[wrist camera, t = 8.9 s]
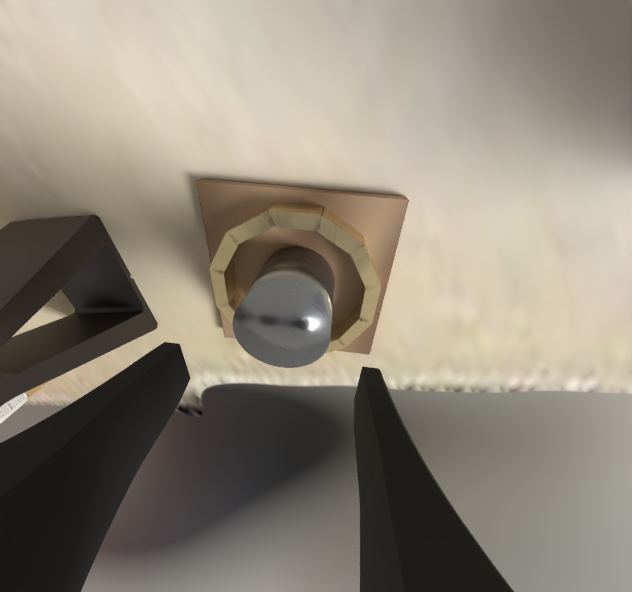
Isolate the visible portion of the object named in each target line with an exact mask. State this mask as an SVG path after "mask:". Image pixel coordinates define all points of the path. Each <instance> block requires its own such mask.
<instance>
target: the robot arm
mask: <svg viewBox="0 0 632 592" xmlns="http://www.w3.org/2000/svg"><path fill="white" fill-rule="evenodd" d="M189 380H190V375H189V372H188V369H187V366H186V363H185V360H184V357H183V353H182V350H181V347H180V344H175V343H167V342H164V343H163V344H161V345H160V346H158V347H157V348H155V349H154V350H152V351H151V352H149V353H148V354H146V355H145V356H143V357H142V358H140V359H139V360H137V361H136V362H134V363H133V364H132V365H130V366H129V367H127V368H126V369H124V370H123V371H121V372H120V373H118V374H117V375H115V376H114V377H112V378H111V379H109V380H108V381H106V382H105V383H103V384H102V385H100V386H99V387H97V388H95V389H94V390H92V391H91V392H89V393H87V394H86V395H84V396H83V397H81V398H80V399H78V400H76V401H75V402H73V403H72V404H70V405H68V406H67V407H65V408H63V409H62V410H60V411H58V412H57V413H55V414H53V415H51V416H50V417H48V418H46V419H45V420H43V421H41V422H39V423H37V424H36V425H34V426H32V427H30V428H29V429H26V430H25V431H23V432H21V433H19V434H17V435H15V436H14V437H12V438H10V439H8V440H6V441H4V442H2V443H0V592H81V590H82V587H83V585H84V583H85V580H86V578H87V575H88V573H89V571H90V569H91V566H92V564H93V562H94V560H95V558H96V555H97V553H98V551H99V549H100V546H101V544H102V542H103V539H104V537H105V535H106V533H107V531H108V529H109V527H110V525H111V523H112V521H113V519H114V516H115V514H116V512H117V510H118V508H119V506H120V504H121V502H122V500H123V498H124V496H125V494H126V492H127V490H128V488H129V486H130V484H131V482H132V480H133V478H134V477H135V474H136V473H137V471H138V469H139V468H140V466H141V464H142V462H143V461H144V459H145V457H146V456H147V454H148V452H149V451H150V449H151V448H152V446H153V444H154V443H155V441H156V440H157V438H158V436H159V435H160V433H161V432H162V430H163V428H164V427H165V425H166V423H167V422H168V420H169V419H170V417H171V415H172V414H173V412H174V410H175V409H176V407H177V405H178V404H179V402H180V400H181V398H182V396H183V393H184V391H185V389H186V387H187V385H188V382H189ZM354 434H355V447H356V459H357V471H358V483H359V495H360V496H359V497H360V592H514V591H513V590H512V589H511V587H510V586H509V584H508V583H507V582H506V581H505V579H504V578H503V577H502V575H501V574H500V573H499V571H498V570H497V569H496V567H495V566H494V565H493V563H492V562H491V560H490V559H489V558H488V556H487V555H486V554H485V552H484V551H483V549H482V548H481V547H480V545H479V544H478V542H477V541H476V540H475V538H474V537H473V535H472V534H471V533H470V531H469V530H468V528H467V527H466V526H465V524H464V523H463V521H462V520H461V519H460V517H459V516H458V514H457V513H456V511H455V510H454V508H453V507H452V505H451V504H450V502H449V501H448V499H447V498H446V496H445V494H444V493H443V491H442V490H441V488H440V487H439V485H438V483H437V482H436V480H435V479H434V477H433V475H432V474H431V472H430V470H429V469H428V467H427V465H426V464H425V462H424V460H423V458H422V457H421V455H420V453H419V452H418V450H417V448H416V446H415V445H414V442H413V441H412V439H411V437H410V435H409V433H408V431H407V429H406V427H405V425H404V423H403V421H402V419H401V417H400V415H399V413H398V411H397V409H396V407H395V405H394V402H393V400H392V398H391V396H390V393H389V391H388V389H387V386H386V384H385V381H384V379H383V376H382V373H381V371H380V370H379V369H377V368H368V367H362V370H361V374H360V379H359V383H358V387H357V391H356V395H355V399H354Z"/></svg>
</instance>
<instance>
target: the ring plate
mask: <svg viewBox="0 0 632 592" xmlns="http://www.w3.org/2000/svg"><path fill="white" fill-rule="evenodd" d="M196 182H197V187H198V193H199V199H200V204H201V210H202V215H203V221H204V226H205V232H206V237H207V243H208V248H209V254H210V260H211V265H210V267H209V268H210V269H209V270H210V275H211V281H212V286H213V291H214V297H215V302H216V305H217V307H218V308H219V310H220V315H221V320H222V326H223V332H224V337H228V338H236V337H235V334H234V331H233V317H234V314H235V312H236V310H237V308H238V306H239V305H240V303H241V302H242V300H243V298H244V297H245V295H246V293H247V292H248V290H249V288H250V287H251V285H252V283H253V282H254V280H255V278H256V277H257V275H258V274H259V272H260V270H261V269H262V267H263V265H264V264H265V262H266V260H267V259H268V258H269V257H270V256H271V255H272V254H273V253H274V252H276V251H277V250H279V249H282V248H285V247H290V246H300V247H305V248H309V249H311V250H313V251H316V252H317V253H319V254H320V255H321V256H323V257H324V258H325V259H326V260H327V262H328V263H329V264H330V266H331V268H332V270H333V273H334V277H335V285H334V298H333V311H332V324H331V336H330V343H329V346H328V348H327V350H326V352H325V353H328V352H331V351H335V350H337V351H345V352H353V353H362V354H370V350H371V347H372V343H373V339H374V335H375V331H376V327H377V323H378V319H379V315H380V311H381V307H382V303H383V299H384V296H385V292H386V288H387V284H388V280H389V276H390V272H391V268H392V264H393V260H394V256H395V252H396V249H397V245H398V241H399V237H400V233H401V229H402V225H403V221H404V217H405V213H406V209H407V205H408V201H409V200H408V199H407V197H404V196H393V195H382V194H370V193H359V192H348V191H337V190H325V189H314V188H303V187H292V186H280V185H269V184H258V183H247V182H235V181H224V180H213V179H201V180H198V181H196Z"/></svg>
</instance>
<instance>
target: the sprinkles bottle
mask: <svg viewBox="0 0 632 592" xmlns="http://www.w3.org/2000/svg"><path fill="white" fill-rule="evenodd" d="M46 383H47V382H46ZM46 383H43V384H41V385H39V386H37V387H35V388H33V389H31V390H29V391H27V392H25V393H23V394H21V395H19V396H17V397H15V398H13V399H12V400H10V401H8V402H7V403H5V404H4V405H2V406H1V407H0V424H1V423H2V422H3V421H4V420H5V419H6V418H8V417H9V416H10V415H11V414H12V413H13V412H14V411H16V410H17V409H18V408H19V407H20V406H22V405H23V404H24V403H25V402H26V401H27V399H28V398H30V397H31V396H32V395H33V394H34V393H36V392H37V391H38V390H39V389H40V388H41V387H43V386H44V385H45V384H46Z"/></svg>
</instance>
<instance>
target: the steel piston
mask: <svg viewBox="0 0 632 592" xmlns="http://www.w3.org/2000/svg"><path fill="white" fill-rule="evenodd" d="M334 285H335V277H334V273H333V270H332V268H331V266H330V264H329V263H328V262H327V260H326V259H325V258H324V257H323V256H321V255H320V254H319V253H317V252H316V251H313V250H311V249H309V248H305V247H300V246H290V247H285V248H282V249H279V250H277V251H276V252H274V253H273V254H272V255H271V256H270V257H269V258H268V259H267V260H266V262H265V264H264V265H263V267H262V269H261V270H260V272H259V274H258V275H257V277H256V278H255V280H254V282H253V283H252V285H251V287H250V288H249V290H248V292H247V293H246V295H245V297H244V298H243V300H242V302H241V303H240V305H239V306H238V308H237V310H236V312H235V314H234V317H233V331H234V334H235V337H236V339H237V341H238V342H239V344H240V345H241V346H242V347H243V349H244V350H245V351H247V352H248V353H249V354H250V355H251V356H253V357H254V358H256V359H258V360H260V361H262V362H264V363H267V364H269V365H273V366H277V367H284V368H294V367H301V366H305V365H308V364H311V363H313V362H315V361H316V360H318V359H319V358H320V357H321V356H322V355H323V354H324V353H325V352H326V350H327V348H328V346H329V343H330V336H331V324H332V311H333V298H334Z"/></svg>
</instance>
